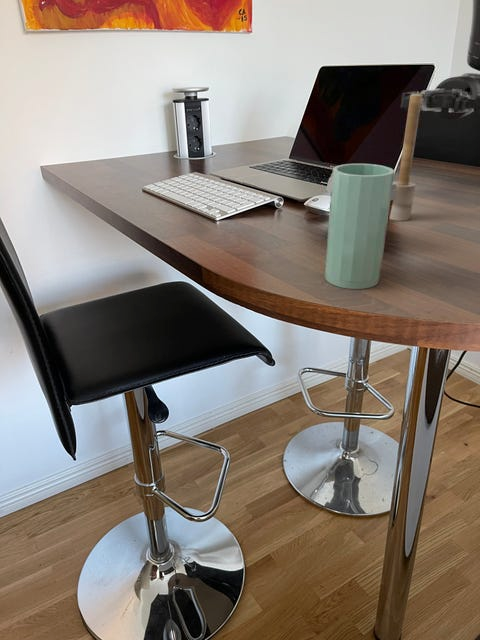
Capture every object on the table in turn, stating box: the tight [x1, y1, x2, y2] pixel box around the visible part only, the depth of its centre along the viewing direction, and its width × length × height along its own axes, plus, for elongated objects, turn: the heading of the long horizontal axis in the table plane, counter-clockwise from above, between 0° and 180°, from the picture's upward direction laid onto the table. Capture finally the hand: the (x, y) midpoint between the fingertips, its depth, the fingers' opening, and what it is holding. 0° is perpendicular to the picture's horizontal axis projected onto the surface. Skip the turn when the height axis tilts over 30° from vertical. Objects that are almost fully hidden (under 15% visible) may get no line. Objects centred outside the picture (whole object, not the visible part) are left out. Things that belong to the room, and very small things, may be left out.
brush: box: [389, 94, 422, 222], centre depth 84 cm, size 4×4×20 cm
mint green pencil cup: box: [324, 163, 395, 290], centre depth 62 cm, size 7×7×14 cm
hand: (431, 104), depth 86 cm, fingers open, 8 cm apart
